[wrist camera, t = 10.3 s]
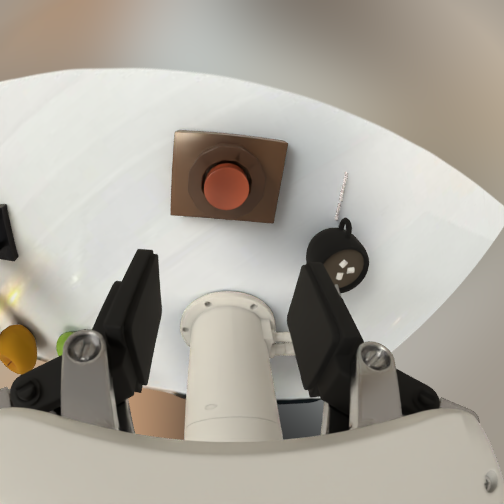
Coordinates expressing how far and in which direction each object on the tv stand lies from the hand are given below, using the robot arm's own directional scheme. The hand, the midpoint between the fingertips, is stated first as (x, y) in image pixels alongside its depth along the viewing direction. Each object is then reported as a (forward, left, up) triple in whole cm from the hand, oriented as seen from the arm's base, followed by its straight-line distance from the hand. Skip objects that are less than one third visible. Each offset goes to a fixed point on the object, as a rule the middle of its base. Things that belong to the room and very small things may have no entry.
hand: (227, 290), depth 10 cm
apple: (+35, +29, -18) cm, 49 cm away
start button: (0, 0, -14) cm, 14 cm away
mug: (-12, +4, -18) cm, 22 cm away
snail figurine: (+22, +26, -18) cm, 38 cm away
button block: (0, 0, -17) cm, 17 cm away
